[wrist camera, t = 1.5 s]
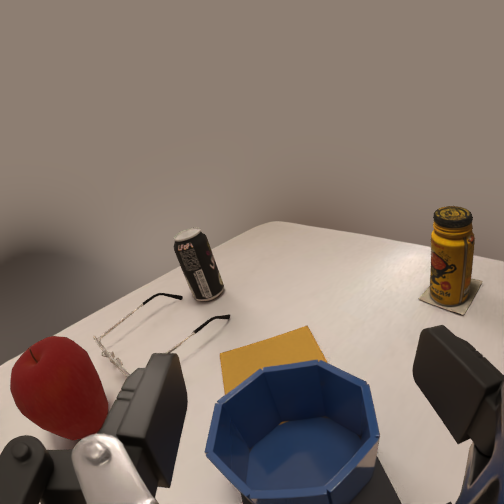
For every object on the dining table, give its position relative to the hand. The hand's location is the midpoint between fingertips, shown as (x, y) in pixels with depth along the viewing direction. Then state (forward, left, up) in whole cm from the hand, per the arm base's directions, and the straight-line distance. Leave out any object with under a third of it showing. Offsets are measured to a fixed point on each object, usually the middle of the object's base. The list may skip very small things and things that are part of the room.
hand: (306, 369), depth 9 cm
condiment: (+3, -32, -19) cm, 37 cm away
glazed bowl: (+5, -1, -19) cm, 19 cm away
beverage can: (+39, -13, -19) cm, 45 cm away
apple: (+27, +15, -19) cm, 36 cm away
